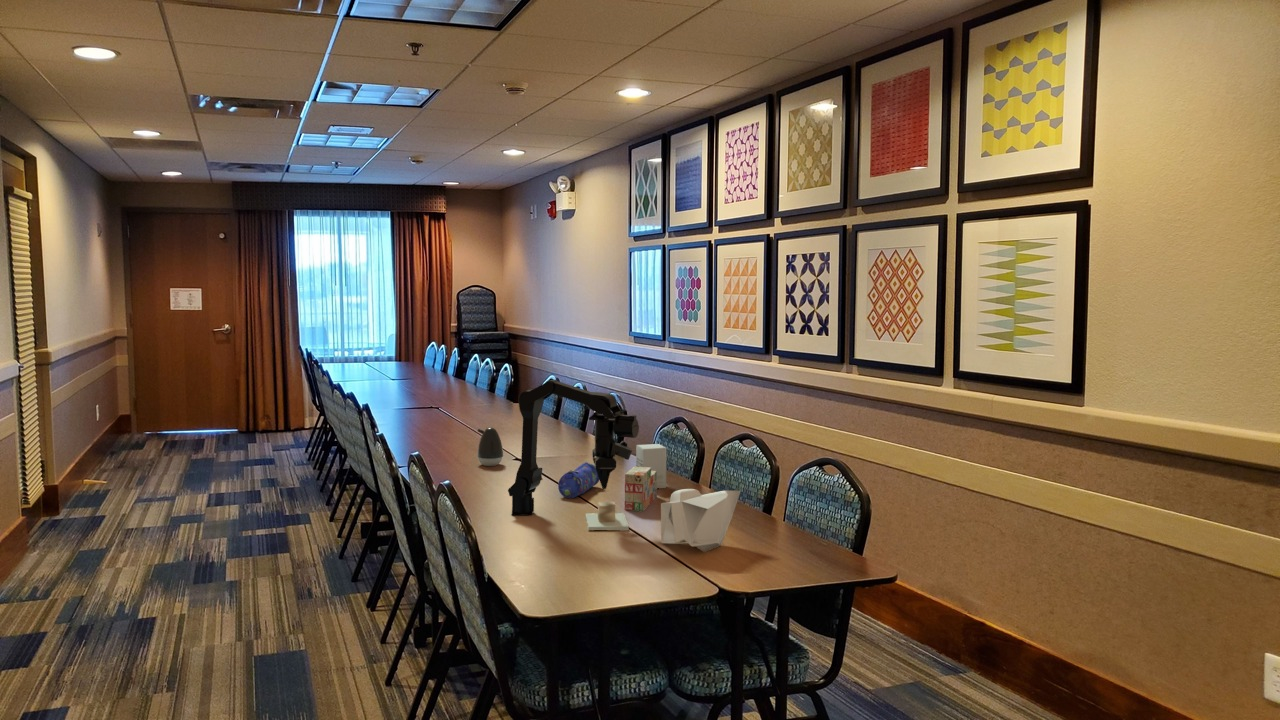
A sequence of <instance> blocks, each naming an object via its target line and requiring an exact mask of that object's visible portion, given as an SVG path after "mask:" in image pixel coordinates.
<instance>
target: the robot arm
mask: <svg viewBox="0 0 1280 720" xmlns="http://www.w3.org/2000/svg"><path fill="white" fill-rule="evenodd" d="M553 395H556V396H558V397H562V398H564V399H568V400H570V401H573V402H576V403H579V404H583V405H584V406H586V407H587V408H589V410H591V411H593V414H592V415H590V416H589V417H588V420H589V421H595V425H594V427H595V428H594V429H595V430H594V433H595V434H594V448H593V449H592V452H591V453H592V454H591V456H592V461H593V465H594V466H595V468H596V471H597V474H598V477H599V483H600V485H601V487H602V489H603V490H604V489H605V490H606V489H607V486H608V483H609V479H610V476H611V475H610V474H611V473H612V472H613V471H615V470H616V468H617V460H616V459H615V457H616V456H618V457H620V458H623V459H624V460H627V461H628V460H629V459H630V457H631V455H632V452H633V449H632V448H631V447H630V446H628V442H627V441H624V440H621V442H620V443H619V442H616V440H615V438H614V437H615V435H616V436H617V437H619V438H633V439H636V438H637V437H638V435H639V432H640V425H639V421H638V418H637V415H635V414H631V415H628V414H624V412H623V411H622V409H621V408H620V406H619V405H618V401H617V398H616V396H615V395H614V394H612V393H608V392H597V391H596V392H595V391H589V390H587V389H586V390H585V389H583V388H580V387H577V386H575V385H570V384H568V383H565V382H562V381H559V380H557V379H551V380H549V379H548V380H547V381H545V383H543V384H541V385H538V386H537V387H535V388H533V389H528V390H525V391H522V392H521V393H520V394H519V396H518V398H517V399H518V410H519V413H520V415H521V417H522V432H521V433H522V435H521V456H520V458H521V460H520V464H519V467H518V469H517V471H516V475H515V476H516V477H515V481H514V483H513V484H512V485H511V486H510V487H509V488H508V489H507V492H508V495H509V497H511V501H512V503H511V516H532V515H533V512H535V497H533V493H535V491H536V489H537V487H538V486H539V485H540V484H541V481H543V477H542V475H543V474H542V473H543V467H539V465H538V463H537V453H538V452H537V450H538V430H539V429H538V427H539V426H538V425H539V424H538V423H539V417H540V415H541V412H542V410H543V407H544V401H545V400H546V399H548V398H549V397H551V396H553Z"/></svg>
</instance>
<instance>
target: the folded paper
mask: <svg viewBox="0 0 1280 720" xmlns="http://www.w3.org/2000/svg"><path fill="white" fill-rule="evenodd" d="M741 492H742V491H741V490H721V491H715V492H710V493H706V494H702V493H701V492H700V491H699V490H698V489H696V488H695V489H694V488H684V489H683V488H682V489H679V490H674V491H673V492H672V493H671V495H670V499H669V501H667V502H660V533H661V534H660V536H661V537H660V538H661V541H660V543H661V544H679V543H687V544H688V545H689V546H691V547H696V548H697V549H699V550H701V551H702V552H704V553H706V552H709V551H711V550H713V548H714V549H716V548H718V547H721V546H722V545H723V542H724V539H725V537H726V534H727V532H728V529H729V526H730V523H731V520H732V519H733V515H734V513H735V510H736V507H737V503H738V501H739V497H740V496H741V495H740V494H741ZM708 550H709V551H708ZM705 551H706V552H705Z"/></svg>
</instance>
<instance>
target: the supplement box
mask: <svg viewBox="0 0 1280 720" xmlns="http://www.w3.org/2000/svg"><path fill="white" fill-rule="evenodd" d="M635 448H636V450H635V453H636V454H635V455H636V456H635V467H650V468H651V471H657V479H656V480H657V488H659V489H667V447H666V446H663V445H662V444H659V443H652V444H636V447H635Z"/></svg>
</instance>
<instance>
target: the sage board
mask: <svg viewBox="0 0 1280 720" xmlns="http://www.w3.org/2000/svg"><path fill="white" fill-rule="evenodd" d="M585 520H587V521H586V526H587V525H588V526H587V530H620V531H629V524H628V521H627V519H626V516H625V513H624V512H615V522H599V521H598V512H596V513H592V512H591V513H585Z"/></svg>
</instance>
